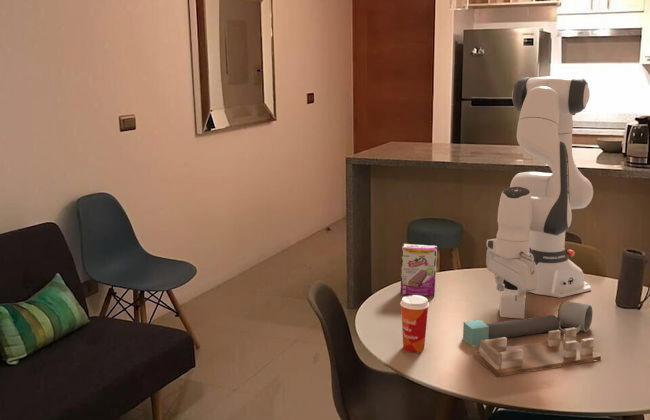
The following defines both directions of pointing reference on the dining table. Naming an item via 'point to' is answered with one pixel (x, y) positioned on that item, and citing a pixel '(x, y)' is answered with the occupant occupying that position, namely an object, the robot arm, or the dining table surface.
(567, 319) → the ceramic mug
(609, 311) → the dining table surface
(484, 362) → the wooden cradle
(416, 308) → the paper cup
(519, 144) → the robot arm
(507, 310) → the medicine bottle
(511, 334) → the grey and teal rod
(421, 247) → the candy bar box
